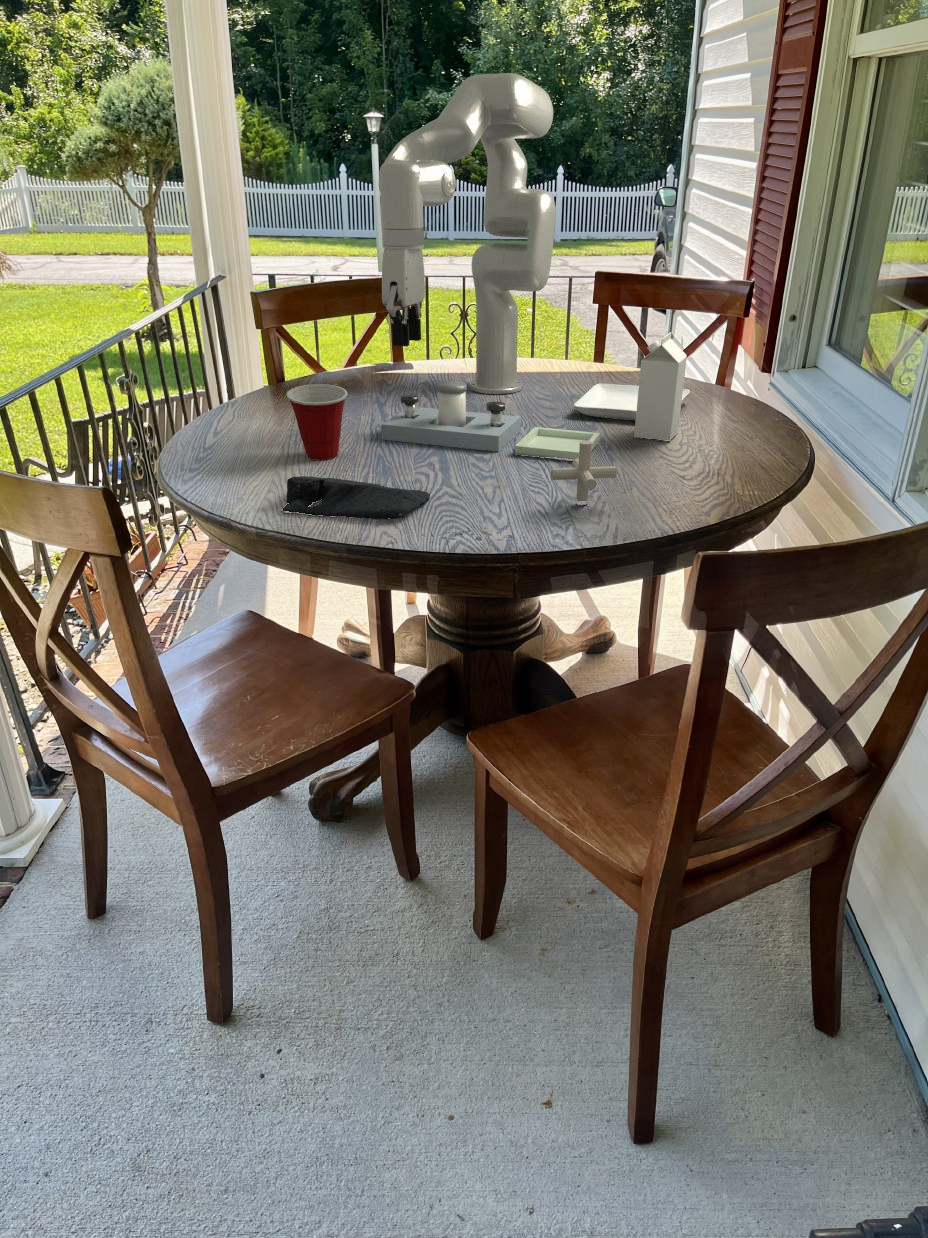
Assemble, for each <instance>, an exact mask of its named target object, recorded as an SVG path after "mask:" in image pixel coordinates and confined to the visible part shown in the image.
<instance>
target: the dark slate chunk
mask: <svg viewBox="0 0 928 1238" xmlns="http://www.w3.org/2000/svg"><path fill="white" fill-rule="evenodd" d="M286 481H287V482H286V488H287V489H286V500H285V501H286V502H287V503H289V504H287V505H286V504H285V505H286V506H285V505H284V506H285V507H284V506H283V507H284V508H283V507H282V508H283V511H289V512H299V513H305V514H312V515H323V516H327V517H329V516H337V517H340V516H346V517H345V518H349V517H355V518H356V519H359V518H360V519H367V520H368V519H369V518H370V520H371V519H372V520H389V519H388V518H390V520H395V519H396V520H397V519H400V518H403V517H404V516H406V515H408V514H410V513H411V512H412V511H414V510H416V509H417V508H418V507H422V506H423V505H425V503H427V502H428V501H429V500H430V498H431V497H430V495H431V494H430V493H429V492H427V491H424V490H419V489H417V490H416V489H408V488H407V489H406V488H399V487H398V488H397V487H389V486H384V485H380V484H376V483H370V482H363V481H356V480H350V479H341V478H335V477H316V476H306V475H303V476H302V475H301V476H292V477H289V478H287V480H286ZM321 499H322V500H321ZM318 500H321V502H320V503H319V504H316V505H313V506H311V507H308V506H309V505H311V504H312V502H316V501H318ZM286 502H285V503H286ZM318 502H319V501H318ZM323 516H322V517H323Z"/></svg>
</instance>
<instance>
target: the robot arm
mask: <svg viewBox="0 0 928 1238" xmlns="http://www.w3.org/2000/svg"><path fill="white" fill-rule="evenodd" d="M550 97H551V96H550V95H549V93H548V92H547V91H546V90H544V89H543V88H542V87H541V86H539V85H538V84H536V83H535V82H533V81H532V80H530V79H528V78H526V77H524V76H523V75H522V74H518V73H515V72H514V73H513V72H507V73H506V72H505V73H502V72H501V73H483V74H474V75H471V76H468V77H466V78H465V79H464V80H463V81H462V83H461V84H460V85H459V87H458V88H457V90H456V91H455V92H454V93H453V95H452V97H451V98H450V100H449V102H447V104H446V105H445V107H444V109H443V110H442V111H441V112H440V114H439V116H438V117H437V118H436V119H434V120H432V121H430V122H428V123H426V124H425V125H423V126H422V127H420V128H418V129H416V130H415V131H413V132H411V133H410V134H408V135H406V136H405V137H403V138H402V139H401V140H400V141H399V142H397V143H396V145H395V146H394V147H393V148H392V150H391V151H390V152H389V154H388V156H387V157H386V158H385V160H384V162H383V163H382V164H381V166H380V168H379V174H378V188H379V193H380V212H381V213H380V214H381V215H380V216H381V235H382V248H383V252H382V261H381V263H382V264H381V300H382V301H381V302H382V304H383V306H384V307H386V311H387V313H388V314H389V317H390V324H391V329H392V331H391V332H392V346H395V347H408V346H410V341H414V342H416V341H417V342H420V341H421V340H422V321H421V320H422V310H421V309H422V306H423V301H424V299H425V295H426V279H425V266H424V265H425V264H424V255H423V249H424V248H425V230H424V227H425V226H424V207H439V206H440V207H441V206H443V205H445V204H446V203H448V202H449V201H450V200H451V199H452V197H453V196H454V194H455V190H456V187H457V186H456V185H457V181H456V176H455V173H454V171H453V169H452V167H451V166H450V165H449V164H451V163H454V162H457V161H459V160H461V159H464V158H466V157H468V156H469V155H470V154H471V153H472V152H473V151H474V149H475V147H476V146H477V144H478V143H479V140H480V143H481V145H482V147H483V150H484V153H485V156H486V159H487V160H486V161H487V175H486V176H487V177H486V187H485V188H486V189H485V197H484V205H483V206H484V208H483V224H484V229H485V230H486V232H487V233H488V234H489V235H492V236H496V237H504V238H520V239H521V238H524V239H527V244H525V243H512V242H510V243H509V242H490V243H489V242H488V243H485V244H483V245H480V246H479V247H478V248H476V250H475V251H474V253H473V255H472V258H471V273H472V274H471V275H472V279H473V284H474V293H475V311H476V313H475V316H476V322H475V330H476V331H475V342H476V343H475V348H476V350H475V351H476V353H475V355H476V360H475V361H476V363H475V364H476V365H475V366H476V368H475V369H476V373H475V374H476V377H475V378H476V379H474V380H472V381H470V382H469V389H470V390H471V391H473V392H475V393H479V394H486V395H505V394H506V395H507V394H513V393H517V392H519V391H521V390H523V388H524V383H523V381H521V380H519V379H517V375H518V374H517V371H518V366H517V363H518V362H517V361H518V329H519V327H518V326H519V325H518V324H519V323H518V322H519V312H518V311H519V309H518V306H517V303H516V300H515V298H514V297H513V295H512V293H511V292H510V291H515V292H516V291H517V292H530V293H531V292H535V293H536V292H539V291H541V290H543V289H544V288H545V287H546V285H547V283H548V281H549V277H550V271H551V266H552V258H553V257H552V256H553V249H554V239H555V233H556V231H555V230H556V222H557V207H556V203H555V199H554V196H553V195H552V194H551V193H550V192H549V191H547V190H545V189H540V188H527V176H528V162H527V158H526V156H525V154H524V152H523V150H522V149H521V147H520V145H519V144H518V143H517V141H516V140H515V139H538V138H543V137H544V136H545V135H546V134H547V133H548V132H549V130H550V129H551V127H552V123H553V119H554V107H553V103H552V100H551V98H550ZM397 304H401V305H397ZM401 312H402V313H401Z"/></svg>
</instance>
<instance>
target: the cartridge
mask: <svg viewBox="0 0 928 1238" xmlns="http://www.w3.org/2000/svg"><path fill="white" fill-rule="evenodd" d="M467 387H468V385H467V383H466V382H465V381H464V382H463V381H457V380H456V381H455V380H448V381H446V380H445V381H441V382H438V383H436V391H437V409H438V425H446V426H456V427H464V426H465V425H466V412H467V410H466V409H467V406H466V405H467V404H466V403H467V402H466V400H467V399H466V398H467V396H466V394H467V393H466V392H467V390H468V389H467Z"/></svg>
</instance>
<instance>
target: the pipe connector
mask: <svg viewBox="0 0 928 1238" xmlns="http://www.w3.org/2000/svg"><path fill="white" fill-rule="evenodd" d="M591 447H592V442H590V441H581V442H580V448H579V458H577V459H574V460H573V462H571V467H560V468H559V467H557V468H556V467H555V468H553V467H552V468H551V470H550V471H551V472H550V477H551V480H552V481H562V480H563V481H565V480H566V481H567V480H577V481H576V483H577V484H576V499H577V500H578V501H587V500H588V501H589V491H594V490H595V489H596V487H597V481H596V479H616V477H617V474H618V473H617V467H616V465H615V466H614V465H613V466H612V465H610V466H607V465H606V466H591V461H592V460H591V459H592V456H591V455H592V453H591ZM576 499H575V500H576Z"/></svg>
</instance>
